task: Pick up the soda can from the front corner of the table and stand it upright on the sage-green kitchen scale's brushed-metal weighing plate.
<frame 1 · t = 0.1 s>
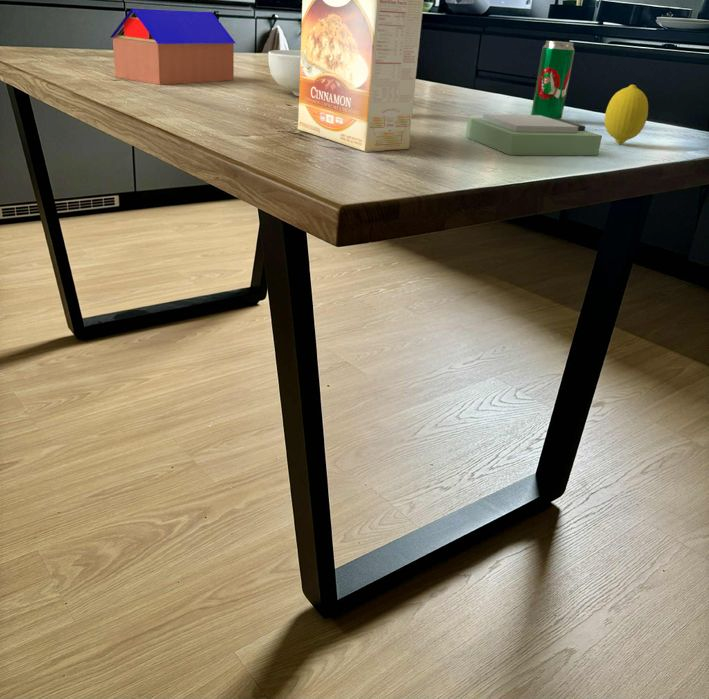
cereal bowl: (315, 97, 127), on the table
lemon: (619, 145, 101), on the table
soda can: (545, 120, 120), on the table
scale: (529, 145, 95), on the table
coffeecake box: (350, 141, 90), on the table
house: (176, 79, 136), on the table
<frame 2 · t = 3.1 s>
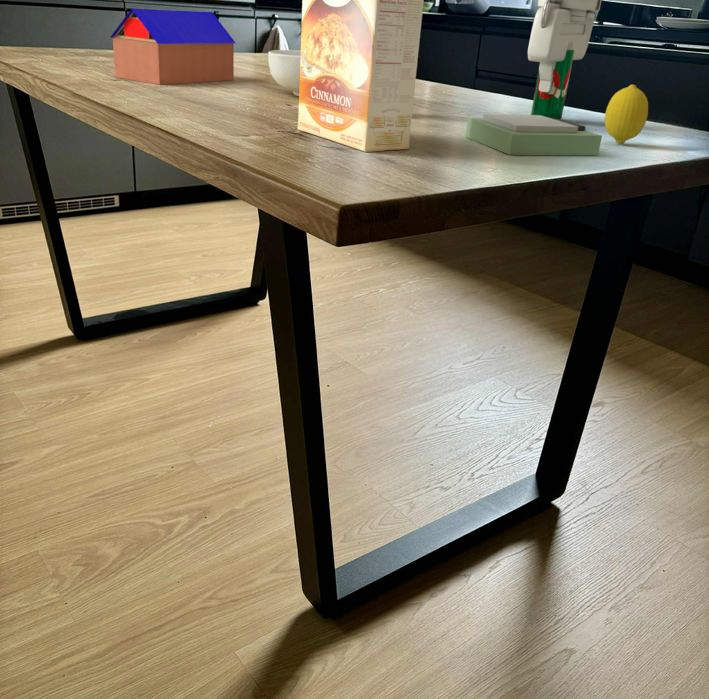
hand: (551, 90, 117), 5 cm above the table, tool pointing down, fingers closed on soda can, 5 cm apart
soda can: (545, 120, 120), on the table, touching gripper
everything else where it was.
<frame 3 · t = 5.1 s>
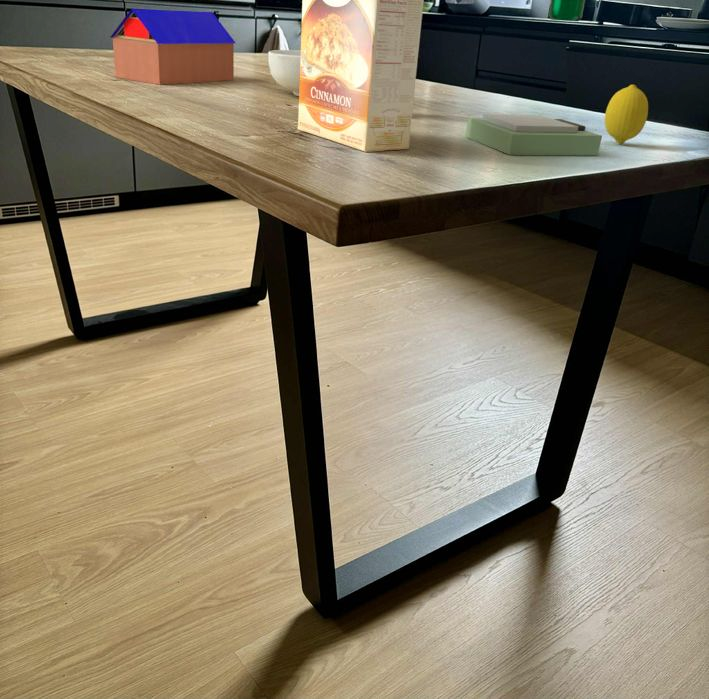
soda can: (564, 21, 111), point 15 cm above the table, touching gripper
everything else where it was.
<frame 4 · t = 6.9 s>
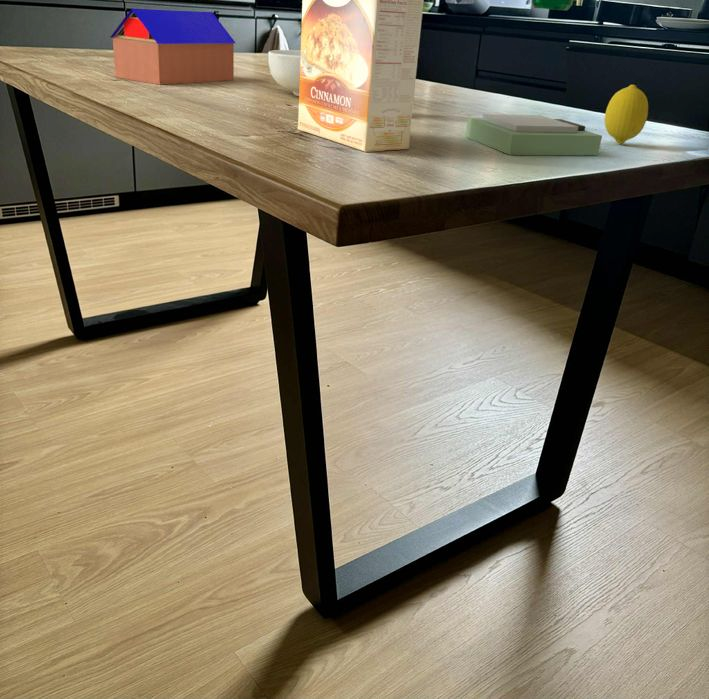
soda can: (550, 10, 91), point 16 cm above the table, touching gripper
everything else where it was.
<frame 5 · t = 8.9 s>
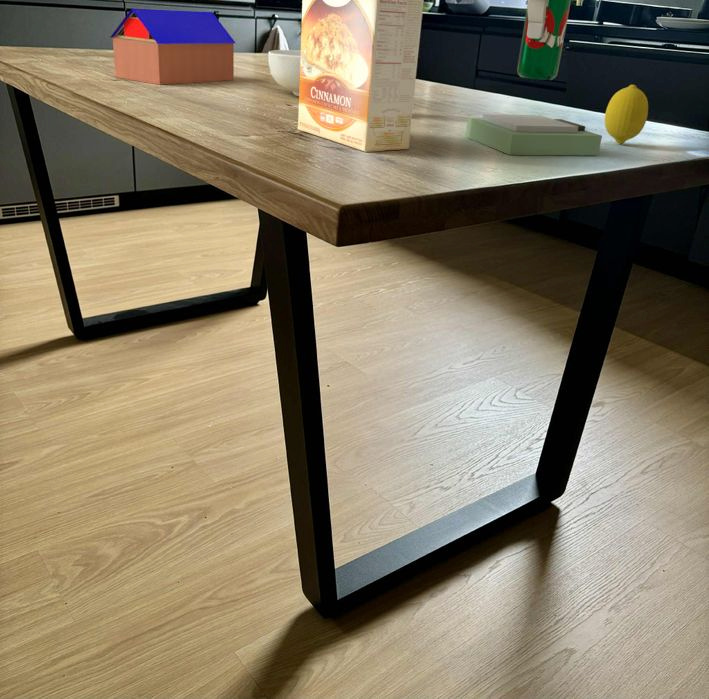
hand: (543, 38, 89), 13 cm above the table, tool pointing down, fingers closed on soda can, 5 cm apart
soda can: (535, 79, 91), point 8 cm above the table, touching gripper
everything else where it was.
when the fingers open (8 cm above the table, at t = 10.6 s): soda can stays where it is, resting on scale.
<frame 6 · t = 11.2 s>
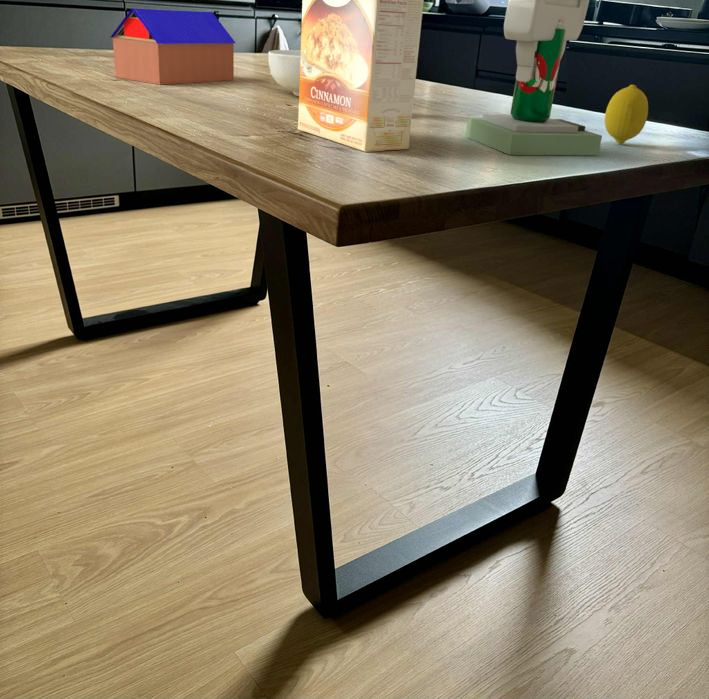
hand: (536, 79, 91), 8 cm above the table, tool pointing down, fingers open, 8 cm apart
soda can: (529, 121, 93), point 3 cm above the table, touching scale
everything else where it was.
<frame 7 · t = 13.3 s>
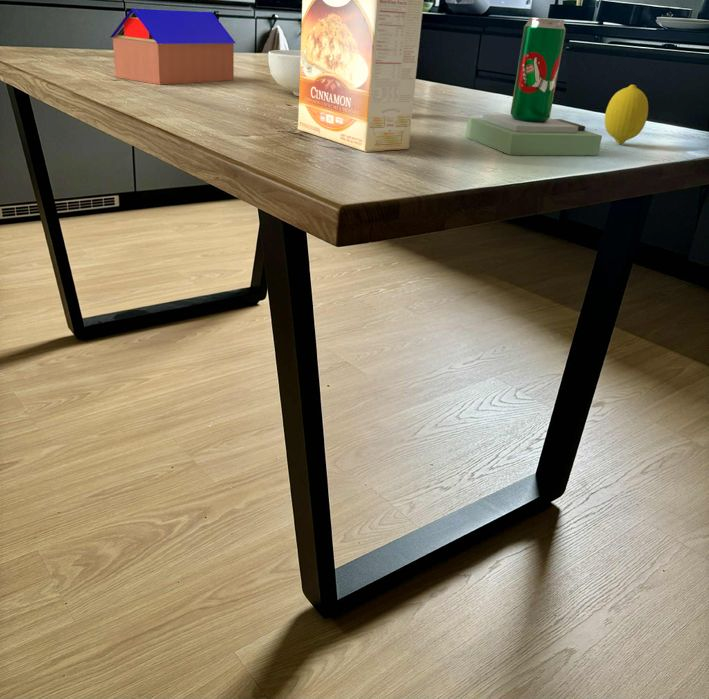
nothing on the table moved.
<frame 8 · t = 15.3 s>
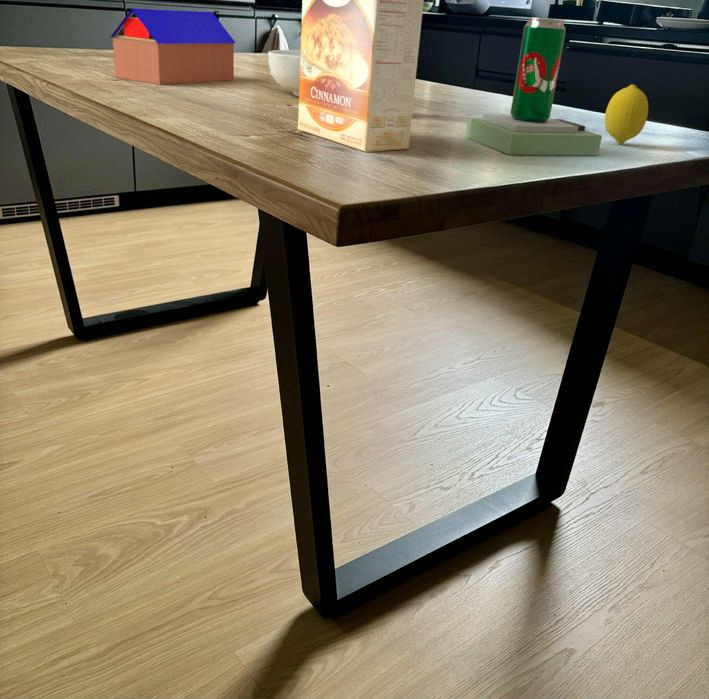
nothing on the table moved.
at the end: soda can inside the target area on the scale (0.1 cm from its centre), point 3.1 cm above the scale's base; soda can tilted 0°; the gripper is holding nothing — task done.
